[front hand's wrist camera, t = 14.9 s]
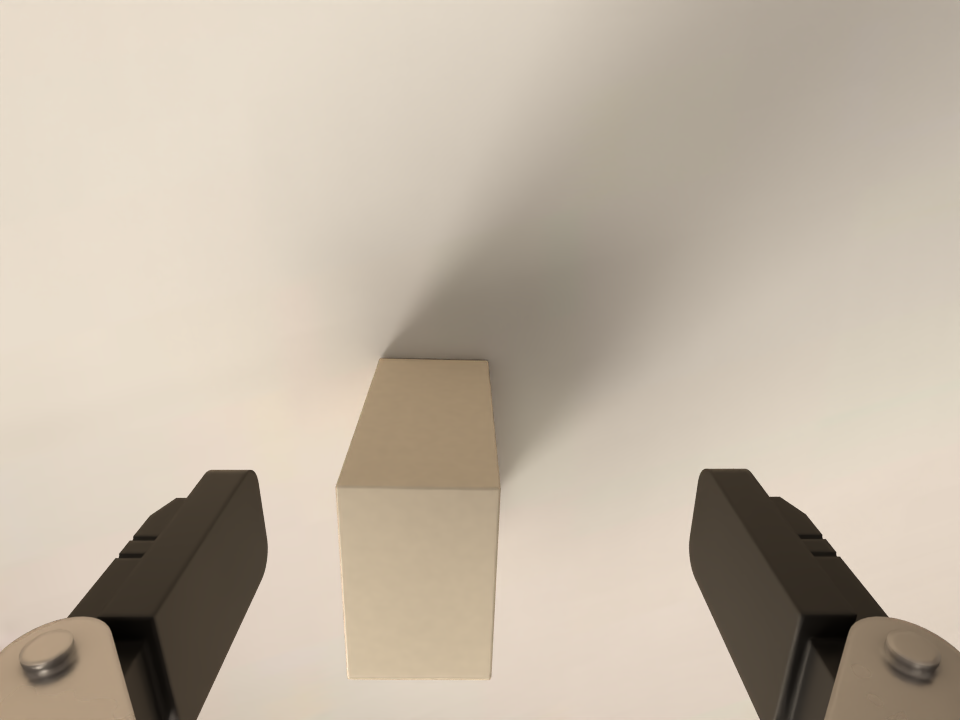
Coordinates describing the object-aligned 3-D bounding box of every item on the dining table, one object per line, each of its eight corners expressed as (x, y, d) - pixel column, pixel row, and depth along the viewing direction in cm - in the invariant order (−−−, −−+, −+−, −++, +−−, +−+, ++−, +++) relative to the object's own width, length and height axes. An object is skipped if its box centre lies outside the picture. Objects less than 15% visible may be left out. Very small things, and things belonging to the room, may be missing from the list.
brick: (383, 503, 32) (346, 680, 22) (379, 357, 29) (334, 485, 19) (482, 504, 32) (491, 681, 22) (488, 360, 29) (500, 488, 19)
